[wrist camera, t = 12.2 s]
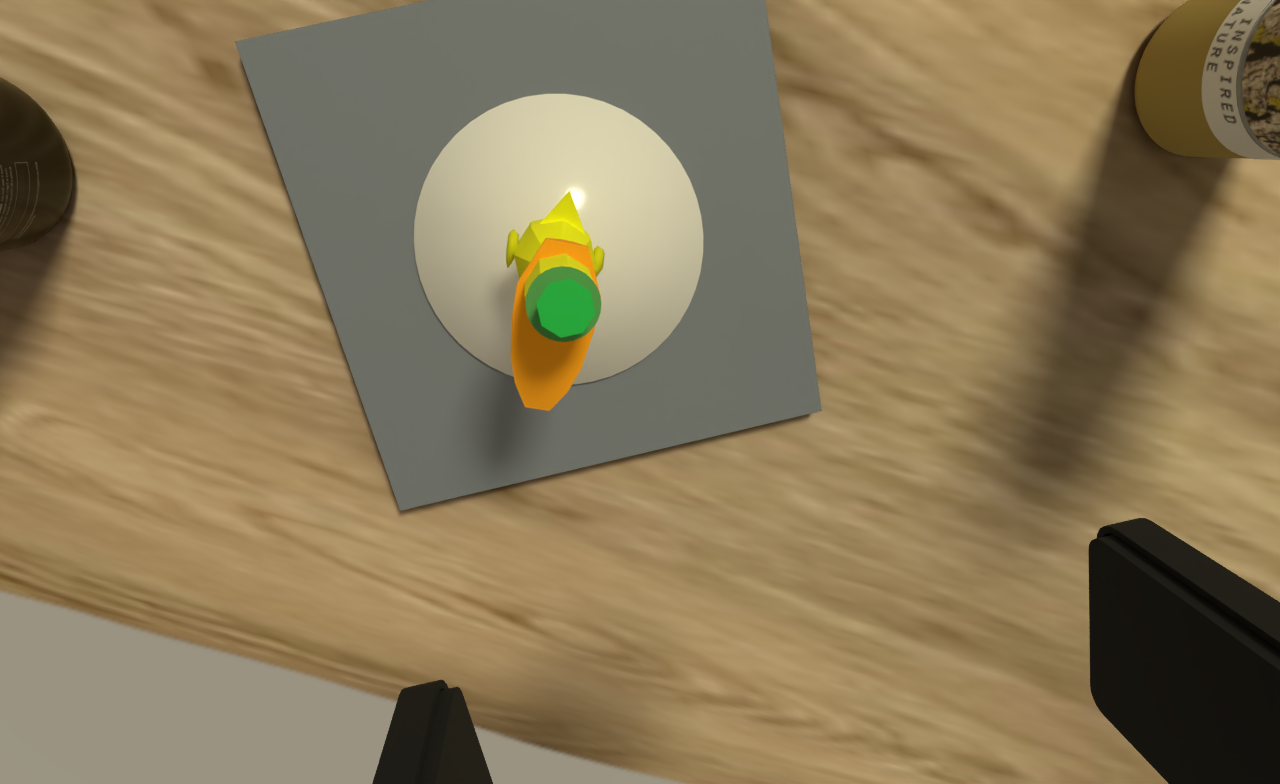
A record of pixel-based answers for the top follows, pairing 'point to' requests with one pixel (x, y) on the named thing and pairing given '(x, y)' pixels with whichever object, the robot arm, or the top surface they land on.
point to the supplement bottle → (30, 170)
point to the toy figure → (553, 304)
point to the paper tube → (1214, 80)
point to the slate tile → (527, 191)
